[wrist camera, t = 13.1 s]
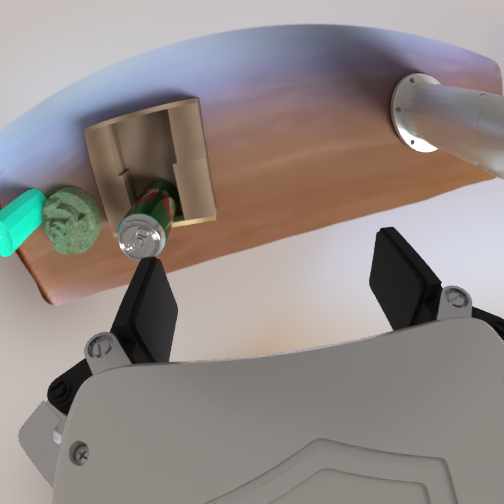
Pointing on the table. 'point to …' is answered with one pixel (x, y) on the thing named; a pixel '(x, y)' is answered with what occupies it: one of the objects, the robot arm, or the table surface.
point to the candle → (20, 220)
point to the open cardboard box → (153, 160)
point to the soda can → (149, 221)
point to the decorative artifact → (71, 220)
